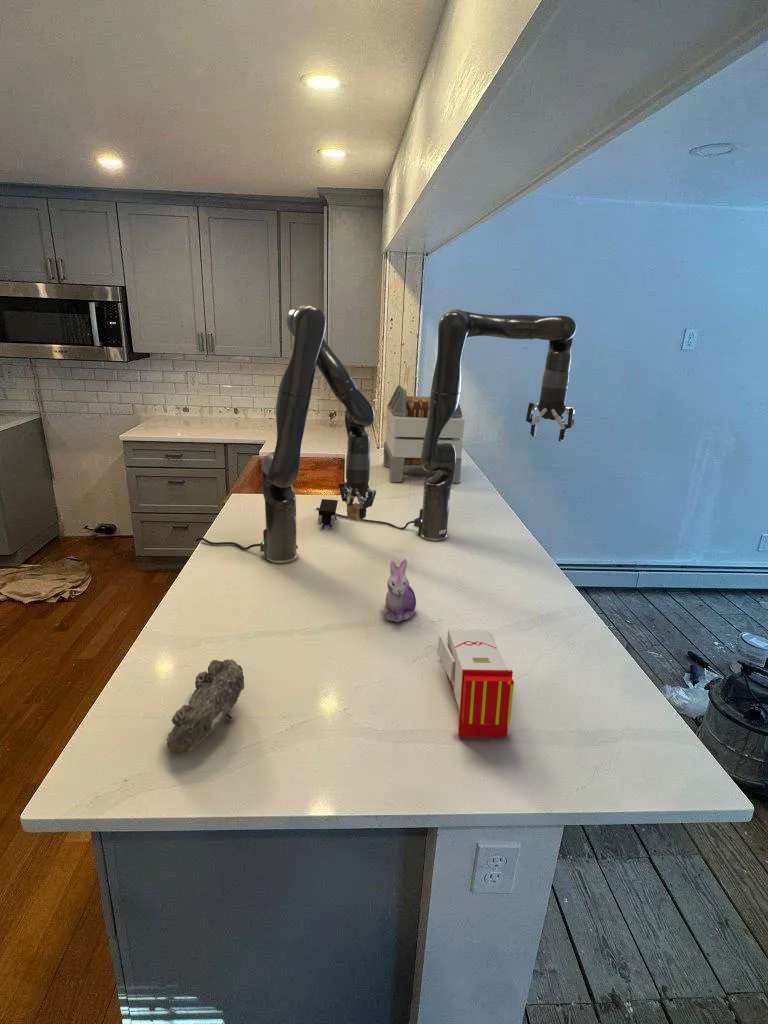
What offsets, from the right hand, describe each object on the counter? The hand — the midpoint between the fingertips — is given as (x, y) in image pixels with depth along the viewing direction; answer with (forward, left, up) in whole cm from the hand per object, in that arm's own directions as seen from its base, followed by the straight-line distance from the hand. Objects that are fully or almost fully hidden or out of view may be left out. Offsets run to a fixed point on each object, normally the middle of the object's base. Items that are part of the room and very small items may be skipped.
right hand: (547, 438), depth 176 cm
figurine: (-12, -61, -39) cm, 74 cm away
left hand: (-48, -33, -28) cm, 65 cm away
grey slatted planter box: (-79, +57, -39) cm, 105 cm away
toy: (+18, -79, -39) cm, 89 cm away
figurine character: (-67, -25, -39) cm, 82 cm away
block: (-48, -33, -29) cm, 65 cm away
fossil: (-18, -116, -39) cm, 124 cm away
